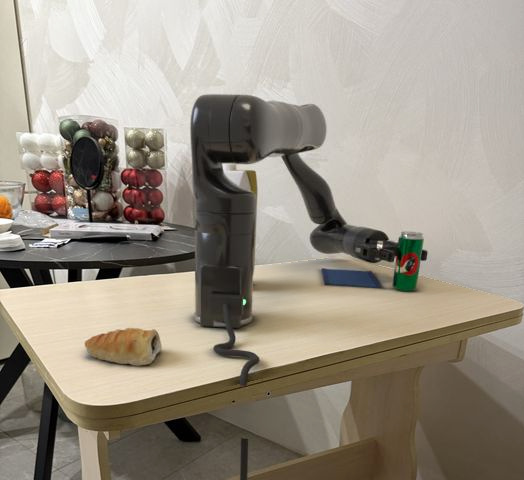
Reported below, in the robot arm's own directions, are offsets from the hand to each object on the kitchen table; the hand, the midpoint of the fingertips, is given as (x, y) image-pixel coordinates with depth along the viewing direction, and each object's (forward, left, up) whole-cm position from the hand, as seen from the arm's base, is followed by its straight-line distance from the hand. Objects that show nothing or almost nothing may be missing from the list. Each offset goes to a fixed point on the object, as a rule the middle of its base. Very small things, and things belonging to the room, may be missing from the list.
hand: (409, 256), depth 109 cm
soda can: (0, 0, -7) cm, 7 cm away
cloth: (+8, +11, -7) cm, 16 cm away
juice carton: (-6, +37, -7) cm, 38 cm away
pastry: (-49, +45, -7) cm, 67 cm away
